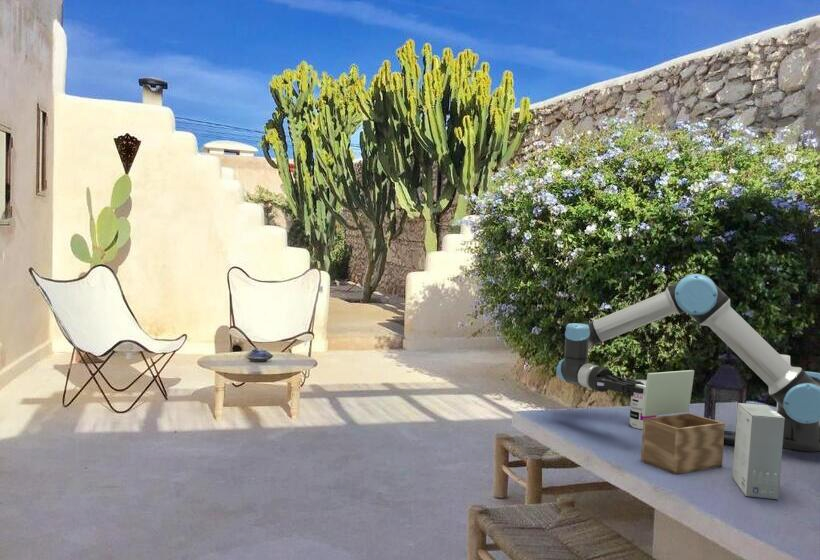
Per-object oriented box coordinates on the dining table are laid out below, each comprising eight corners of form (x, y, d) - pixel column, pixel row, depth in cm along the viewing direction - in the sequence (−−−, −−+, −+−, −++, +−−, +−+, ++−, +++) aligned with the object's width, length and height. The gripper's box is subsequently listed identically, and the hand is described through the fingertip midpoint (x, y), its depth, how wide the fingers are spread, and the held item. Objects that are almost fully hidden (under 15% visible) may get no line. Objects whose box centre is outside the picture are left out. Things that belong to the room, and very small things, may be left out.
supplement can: (658, 426, 246) (661, 381, 245) (651, 431, 239) (654, 385, 238) (633, 422, 250) (636, 378, 249) (626, 427, 243) (628, 381, 242)
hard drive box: (779, 500, 178) (785, 418, 177) (745, 497, 179) (751, 415, 178) (762, 480, 193) (768, 404, 192) (731, 477, 195) (736, 401, 193)
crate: (685, 454, 214) (688, 413, 213) (721, 466, 204) (724, 423, 203) (640, 461, 205) (642, 418, 205) (675, 474, 195) (678, 429, 194)
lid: (688, 411, 213) (686, 410, 214) (694, 370, 212) (692, 370, 212) (644, 416, 205) (641, 415, 205) (649, 374, 203) (647, 373, 204)
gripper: (611, 388, 236) (669, 404, 215) (579, 391, 230) (636, 408, 209) (612, 364, 236) (671, 379, 215) (580, 367, 229) (638, 381, 209)
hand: (654, 393), depth 212 cm, fingers closed
